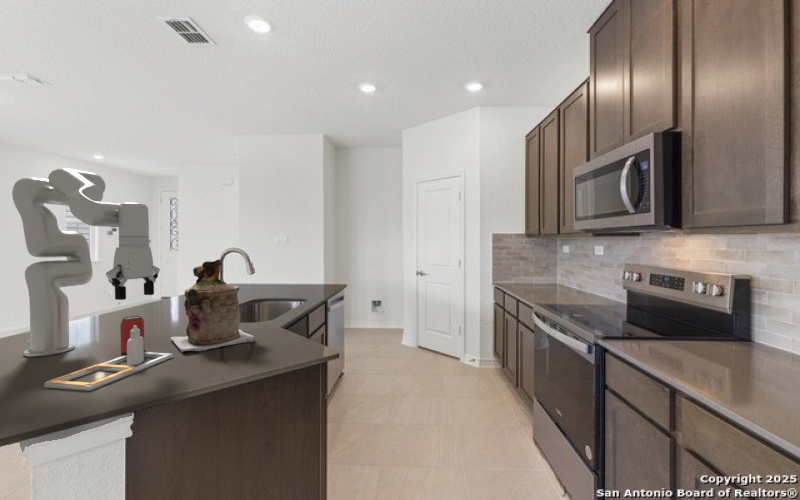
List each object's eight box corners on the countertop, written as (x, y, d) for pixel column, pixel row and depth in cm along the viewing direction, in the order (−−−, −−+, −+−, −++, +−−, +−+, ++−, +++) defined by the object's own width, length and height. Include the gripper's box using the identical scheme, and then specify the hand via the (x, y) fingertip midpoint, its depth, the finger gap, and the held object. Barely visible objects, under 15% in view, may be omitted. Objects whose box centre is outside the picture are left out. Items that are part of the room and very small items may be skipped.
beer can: (131, 354, 117) (131, 319, 117) (115, 353, 118) (115, 318, 118) (149, 349, 123) (148, 315, 123) (134, 347, 125) (133, 314, 124)
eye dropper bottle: (121, 365, 107) (120, 327, 106) (139, 359, 112) (139, 323, 112) (131, 367, 105) (131, 328, 105) (149, 361, 111) (149, 324, 111)
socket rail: (44, 387, 91) (44, 381, 91) (136, 354, 117) (136, 350, 117) (89, 390, 88) (89, 385, 88) (173, 357, 115) (173, 353, 115)
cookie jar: (236, 330, 151) (235, 257, 150) (256, 342, 133) (256, 259, 132) (169, 340, 134) (168, 258, 134) (182, 356, 116) (181, 261, 116)
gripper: (148, 242, 117) (149, 293, 117) (95, 242, 100) (97, 301, 100) (167, 242, 116) (168, 293, 116) (117, 242, 99) (119, 301, 99)
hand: (135, 297), depth 108 cm, fingers open, 9 cm apart
